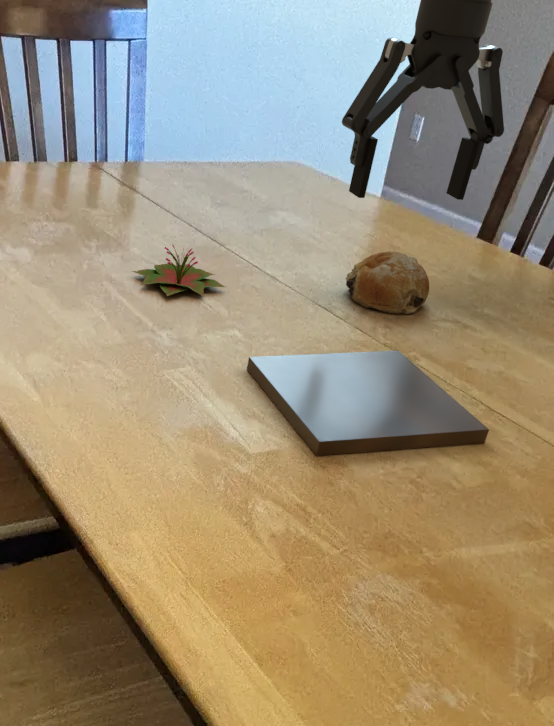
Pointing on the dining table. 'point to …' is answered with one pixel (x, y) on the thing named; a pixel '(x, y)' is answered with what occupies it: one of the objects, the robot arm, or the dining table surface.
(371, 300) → the bread roll
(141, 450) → the dining table surface
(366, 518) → the dining table surface
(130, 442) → the dining table surface
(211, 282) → the lily flower
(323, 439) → the cutting board
